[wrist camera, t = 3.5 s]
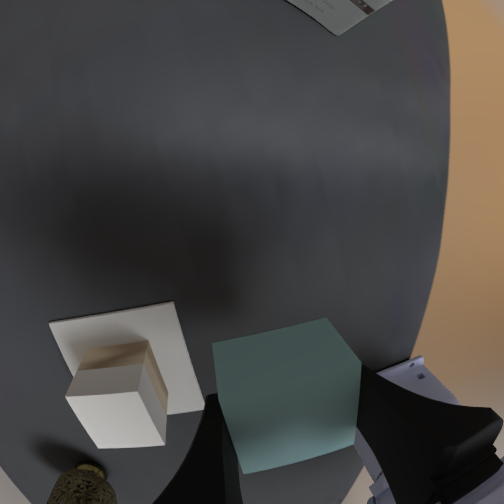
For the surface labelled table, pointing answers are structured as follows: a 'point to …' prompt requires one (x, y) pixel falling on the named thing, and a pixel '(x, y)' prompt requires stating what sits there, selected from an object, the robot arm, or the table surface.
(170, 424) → the table surface
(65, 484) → the olive lace dome
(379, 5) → the skincare box
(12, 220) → the table surface
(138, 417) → the light grey block
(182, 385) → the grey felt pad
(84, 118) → the table surface
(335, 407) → the teal block
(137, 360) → the beech slab
